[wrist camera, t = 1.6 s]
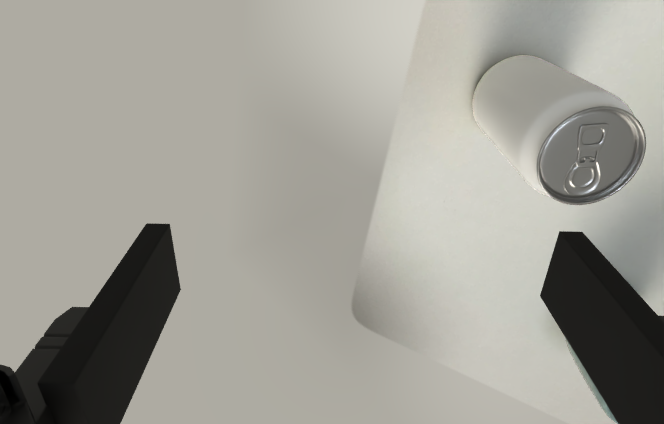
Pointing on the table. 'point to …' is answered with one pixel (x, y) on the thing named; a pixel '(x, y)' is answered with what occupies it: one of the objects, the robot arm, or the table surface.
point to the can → (559, 129)
